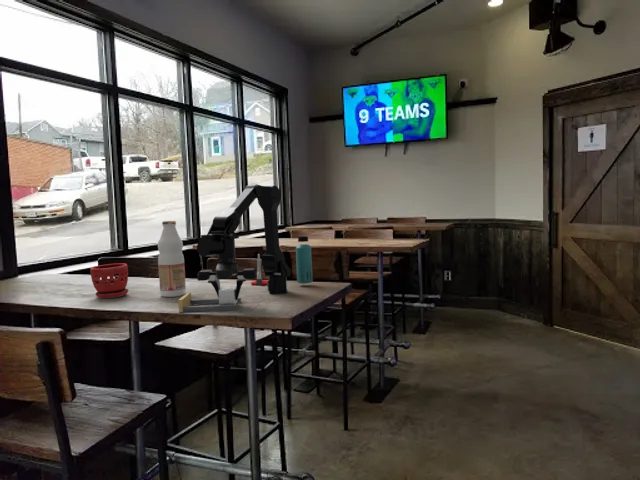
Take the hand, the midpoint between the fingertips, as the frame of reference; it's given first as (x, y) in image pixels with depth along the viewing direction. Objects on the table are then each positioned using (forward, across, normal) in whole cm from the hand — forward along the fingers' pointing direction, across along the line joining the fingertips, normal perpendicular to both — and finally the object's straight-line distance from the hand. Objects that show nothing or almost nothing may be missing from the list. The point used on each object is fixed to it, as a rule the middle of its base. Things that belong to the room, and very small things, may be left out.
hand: (228, 300), depth 166 cm
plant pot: (+2, -49, +27) cm, 56 cm away
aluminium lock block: (+1, 0, 0) cm, 1 cm away
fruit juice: (+2, -25, +25) cm, 35 cm away
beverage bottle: (+2, +26, +34) cm, 43 cm away
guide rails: (+2, -6, 0) cm, 6 cm away
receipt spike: (+2, +8, +44) cm, 45 cm away
